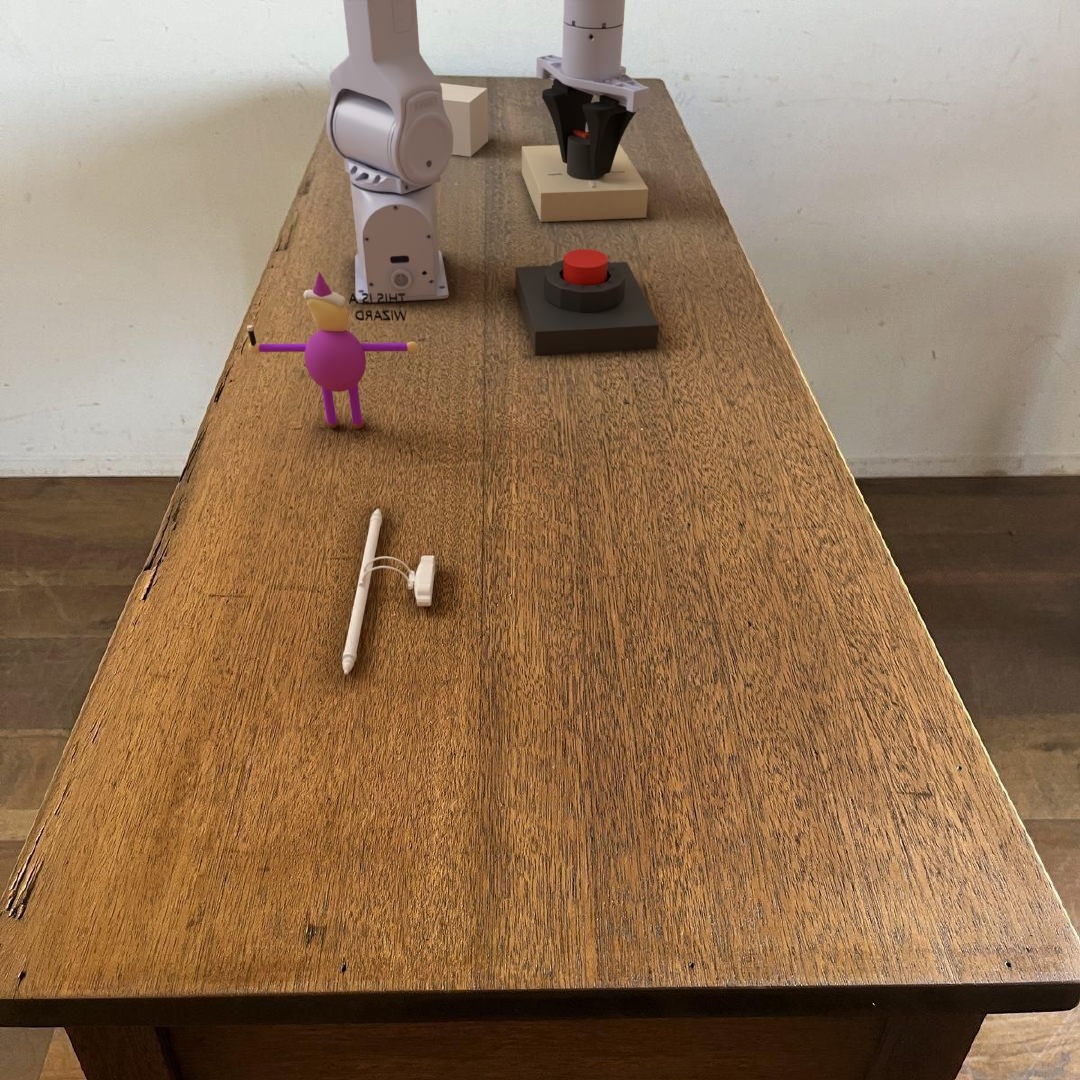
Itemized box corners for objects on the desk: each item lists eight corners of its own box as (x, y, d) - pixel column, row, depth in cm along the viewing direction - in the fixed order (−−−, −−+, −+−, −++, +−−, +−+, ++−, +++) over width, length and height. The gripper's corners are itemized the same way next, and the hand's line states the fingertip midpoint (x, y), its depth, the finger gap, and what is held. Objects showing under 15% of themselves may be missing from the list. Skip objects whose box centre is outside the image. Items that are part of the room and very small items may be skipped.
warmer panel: (646, 217, 101) (648, 187, 99) (540, 222, 99) (540, 191, 97) (617, 170, 111) (619, 141, 109) (521, 173, 110) (521, 144, 108)
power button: (610, 286, 80) (612, 266, 79) (567, 288, 80) (567, 268, 79) (601, 267, 83) (603, 247, 82) (559, 269, 82) (560, 249, 81)
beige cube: (470, 157, 114) (469, 102, 110) (422, 150, 115) (419, 96, 111) (488, 140, 118) (487, 87, 114) (442, 135, 120) (439, 82, 116)
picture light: (373, 513, 62) (370, 487, 61) (441, 514, 63) (440, 488, 61) (339, 678, 52) (335, 650, 50) (422, 679, 52) (420, 651, 50)
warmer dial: (613, 174, 102) (615, 136, 99) (584, 182, 100) (585, 144, 97) (587, 163, 104) (589, 126, 102) (558, 171, 102) (559, 133, 100)
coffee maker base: (656, 349, 80) (661, 304, 77) (534, 356, 78) (535, 310, 76) (625, 284, 89) (628, 241, 86) (515, 290, 87) (515, 247, 85)
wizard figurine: (424, 418, 71) (414, 261, 63) (422, 443, 69) (410, 283, 61) (267, 419, 71) (238, 261, 63) (259, 444, 68) (227, 282, 61)
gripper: (678, 31, 91) (663, 179, 99) (575, 2, 99) (570, 141, 108) (621, 42, 87) (611, 194, 96) (520, 11, 96) (519, 153, 104)
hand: (586, 167), depth 102 cm, fingers closed on warmer dial, 4 cm apart
